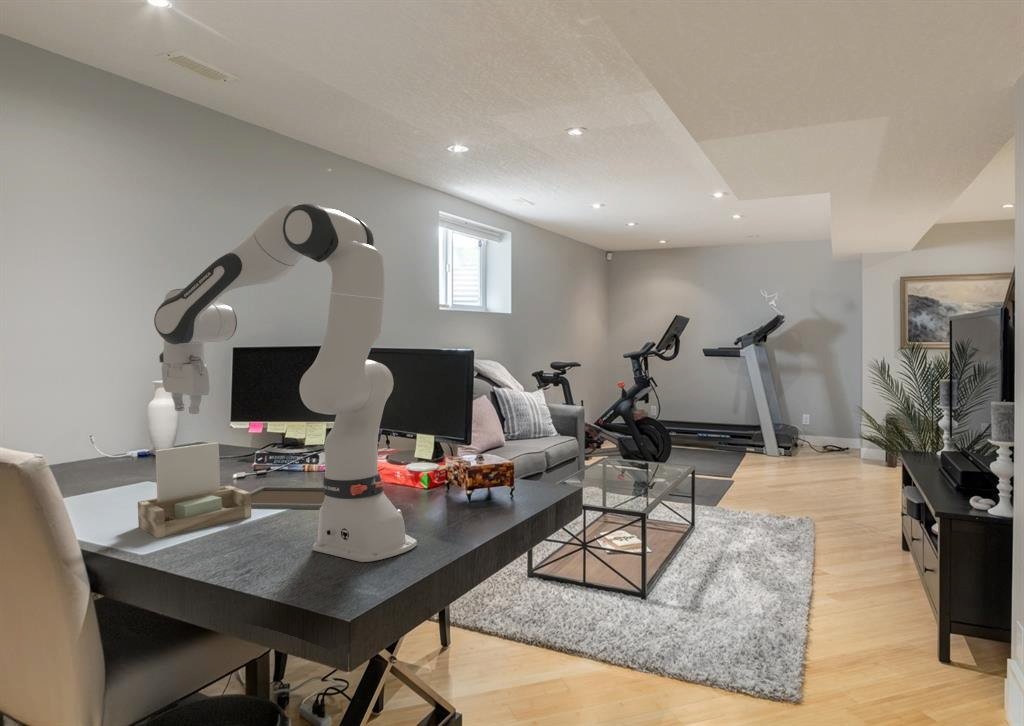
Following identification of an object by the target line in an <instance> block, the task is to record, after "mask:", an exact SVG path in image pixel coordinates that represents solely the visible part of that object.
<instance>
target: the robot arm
mask: <svg viewBox="0 0 1024 726" xmlns="http://www.w3.org/2000/svg"><path fill="white" fill-rule="evenodd" d="M374 243H375V242H374V234H373V233H372V230H371V229H370V227H369V226H368V225H367V224H366V223H365V222H364V221H362V220H360V219H358V218H357V217H354V216H350V215H348V214H346V213H343V212H342V211H340V210H338V209H334V208H331V207H330V208H329V207H326V206H320V205H318V204H314V203H303V204H295V203H289V204H288V203H287V204H284V205H282V206H281V207H279V208H278V209H277V210H275V211H274V212H273V213H272V214H270V215H269V216H268V217H267V218H266V219H264V221H263V222H261V224H260V225H259V226H258V227H257V228H256V229H255V231H254V232H252V234H250V236H248V238H246V240H244V241H243V242H242V243H241V244H240V245H237V247H235V248H233V249H232V250H230V251H229V252H227V253H226V254H224V255H222V256H221V257H219V258H218V259H216V260H215V261H213V262H212V263H211V264H210V265H209V266H208V267H206V269H204V270H203V271H202V272H201V273H200V274H198V275H197V276H196V277H195V279H193V280H192V281H191V282H190V283H189V284H188V285H187V286H186V287H183V288H176V289H172V290H169V291H167V293H166V294H165V296H164V301H163V302H162V303H161V304H160V305H159V306H158V308H157V310H155V311H156V312H155V314H154V319H153V320H154V321H153V322H154V324H153V325H154V328H155V329H156V332H157V334H159V336H160V337H161V338H163V349H162V352H161V353H160V354H159V355H158V360H159V363H160V364H161V378H162V385H163V387H162V388H163V389H164V391H165V392H166V393H170V394H171V399H172V401H173V404H174V405H173V406H174V411H176V412H183V411H185V403H184V401H183V396H185V395H186V396H189V400H190V405H189V406H188V412H189V414H191V415H198V414H200V405H201V402H202V396H208V395H209V393H210V391H211V390H210V389H211V387H210V376H209V375H210V374H209V369H208V366H207V364H206V344H205V343H220V342H224V341H229V340H230V339H231V338H232V337H233V336H234V334H235V333H236V331H237V327H238V318H237V315H236V312H235V311H234V309H233V308H232V307H231V306H230V305H229V304H227V303H223V302H220V301H218V300H219V299H220V298H221V297H222V296H223V295H224V294H227V293H228V292H230V291H232V290H235V289H239V288H242V287H243V288H244V287H248V286H256V285H265V284H273V283H275V282H278V280H280V279H282V278H283V277H285V276H286V275H288V274H289V273H290V272H291V271H292V270H293V268H295V266H296V265H297V264H298V263H299V262H300V261H301V259H302V258H303V257H307V258H309V259H311V260H313V261H315V262H318V263H321V262H325V263H327V265H328V266H329V267H330V270H331V287H330V296H329V306H328V318H327V326H326V331H325V334H324V337H323V339H322V340H323V341H322V343H321V346H320V348H319V350H318V354H317V356H316V358H315V360H314V362H313V363H312V365H311V366H310V367H309V368H308V369H307V370H306V371H305V373H303V375H302V376H301V378H300V382H299V395H300V399H301V401H302V403H303V405H304V406H305V407H306V408H307V409H309V411H312V412H314V413H318V414H323V415H332V416H333V415H335V419H334V423H333V424H332V428H331V430H330V431H329V433H328V434H327V436H326V438H325V441H324V445H323V446H324V471H325V472H324V474H325V475H324V476H323V478H322V479H323V480H322V481H323V482H322V487H323V493H324V494H325V499H324V502H323V504H322V506H321V507H320V509H318V510H319V513H318V528H317V541H316V542H315V543H313V545H312V551H315V552H318V553H321V554H322V553H324V554H327V555H330V556H335V557H340V558H343V559H346V560H347V559H348V560H352V561H355V562H360V563H366V562H375V561H379V560H380V561H381V560H383V559H384V560H385V559H388V558H392V557H394V556H397V555H400V554H403V553H406V552H408V551H410V550H412V549H414V548H416V547H417V546H418V541H417V539H415V538H413V537H412V536H411V535H409V534H406V528H405V520H404V517H403V512H402V510H401V509H397V508H396V507H395V505H394V504H393V502H392V501H390V499H389V497H387V495H386V494H385V493H384V490H385V489H384V487H385V486H386V484H384V483H386V480H382V477H381V473H379V472H378V471H379V469H378V467H379V466H378V465H379V464H378V463H379V462H378V461H379V460H378V459H379V458H378V457H379V456H378V455H379V454H378V453H379V452H378V443H379V442H378V441H379V433H380V431H379V430H380V425H381V423H382V422H381V421H382V418H383V413H384V409H385V405H386V402H387V400H388V399H389V397H390V395H391V394H392V392H393V389H394V377H393V373H392V371H391V370H390V369H389V368H388V366H386V365H385V364H383V363H381V362H378V361H375V360H372V359H368V357H369V354H370V352H371V349H372V347H373V345H374V344H375V342H376V341H377V340H378V339H379V338H380V335H381V333H382V332H381V331H382V322H383V311H384V298H385V268H384V267H385V266H384V265H385V264H384V259H383V255H382V254H381V252H380V251H379V250H378V249H376V248H375V247H374Z"/></svg>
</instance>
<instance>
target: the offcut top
mask: <svg viewBox="0 0 1024 726" xmlns="http://www.w3.org/2000/svg"><path fill="white" fill-rule="evenodd" d="M174 506H175V517H178V518H185V517H189V516H194V515H199V514H204V513H208V512H213V511H218V510H222V498H220V497H216V496H212V495H211V496H206V497H202V498H198V499H194V500H189V501H185V502H181V503H177V504H174Z"/></svg>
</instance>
